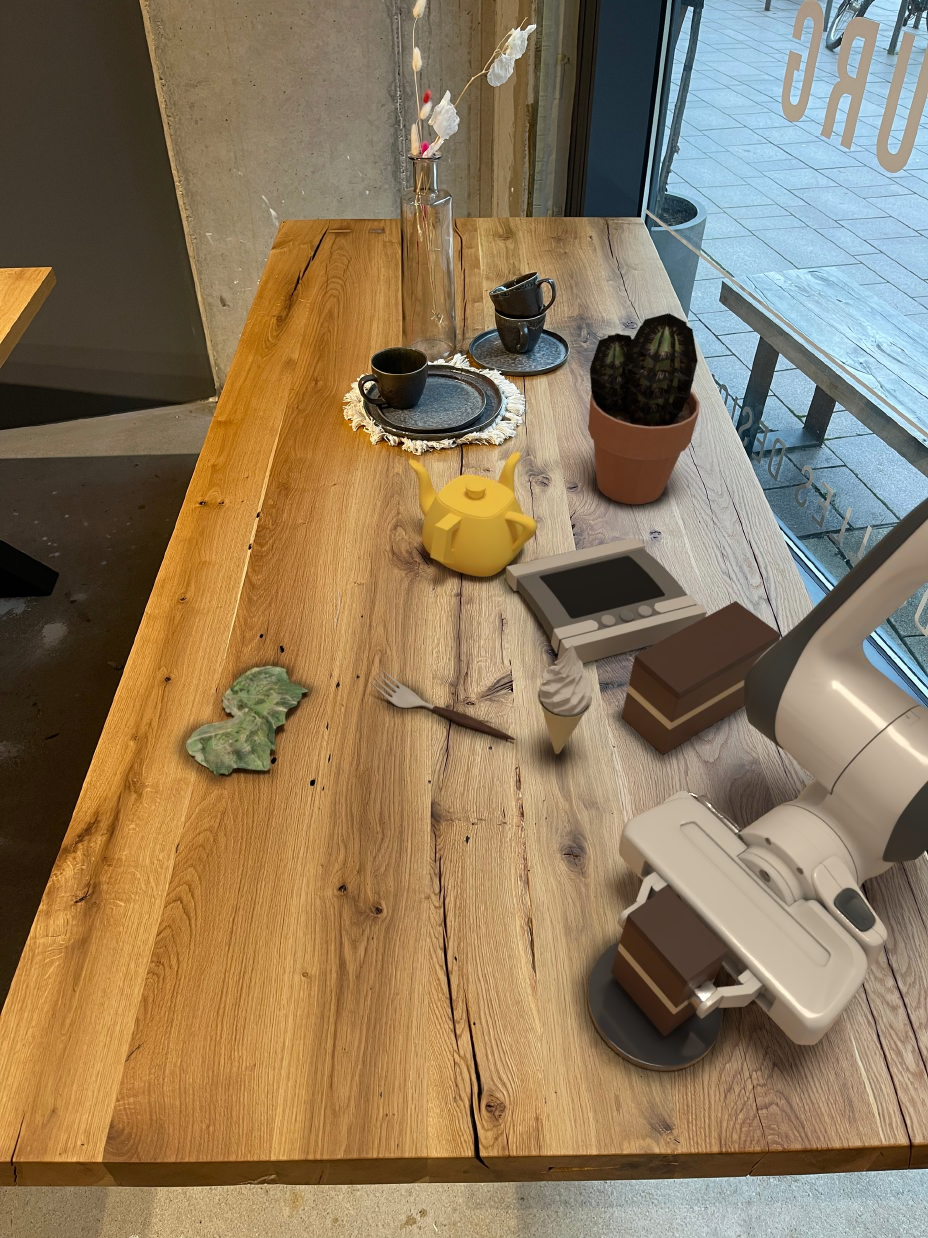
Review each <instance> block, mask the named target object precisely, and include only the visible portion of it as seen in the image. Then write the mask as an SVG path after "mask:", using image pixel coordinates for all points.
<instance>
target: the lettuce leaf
mask: <svg viewBox="0 0 928 1238" xmlns="http://www.w3.org/2000/svg"><path fill="white" fill-rule="evenodd" d="M289 677H290V676H288V675H287V669H286V668H282V667H280V666H272V665H265V666H260V667H252V668H251V669H249V670H247V672H246V673H244V672H243V673H242V674H241V675H240V677H238V678H237V679H236V680H235V681H234V683H232V685H231V686H230V687H229V688H228V689H227V690H226V691H225V693H224V694H223V696H222V697H221V699H222V700H223V701H222V707H223V708H224V709H225V712H226V713H227V714H228V713H231V715H232V716H233V717H232V718H230V719H228V720H221V721H217V722H212V723H207V724H204V725H202V726H200V727H199V728H197V729H196V730H194V731H193V732H192V734H191V735H190V737H189V738H188V739H187V741H186V744H185V748H186V751H187V752H188V754H189V755H191V757H194V759H195V761H197V762H198V763H199V764H201V765H202V766H205V767H206V768H208V769H209V771H210V772H213V774H214V775H215V777H219V775H220V774H225V775H226V776H227V775H230V773H232V771H233V769H238V768H239V769H246V770H255V771H268V770H270V769H271V768H272V767H271V754H270V753H271V750H273V751H276V750H277V748H278V746H277V744H276V735H275V733H276V732H275V731H276V729H277V727H279V726H281V725H285V724H286V723H287V721H286V714H287V712H288V710H289V709H291V708H293V707H296V706H297V705H298V702H299V701H301V700H302V695H303V693H307V692H308V693H309V690H308V689H307V688H306V687H302V686H301V685H300V684H296V683H293V682H292V681H290V679H289Z"/></svg>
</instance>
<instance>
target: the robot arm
mask: <svg viewBox="0 0 928 1238" xmlns="http://www.w3.org/2000/svg"><path fill="white" fill-rule="evenodd" d="M926 584H928V496H927V497H926V498H925V499H923V500H922V501H921V502H920V503H918V504H917V505H916V506H915V507H914V508H912V509H911V510H910V511H909V512H908V513H906V515H905V516H904V517H902V518H901V519H900V520H899V521H898V522H897V523H896V524H895V525H894V526H893V527H892V528H891V529H890V530H889V531H888V532H887V533H886V534H885V535H884V536H882V538H881V539H879V541H878V542H877V543H876V544H875V545H874V546H873V547H872V548H870V550H869V551H868V552H867V553H866V554H865V555H864V556H862V558H861V559H859V561H858V562H857V563H856V564H855V565H854V566H853V567H852V568H851V569H850V570H849V571H848V572H847V573H846V574H845V575H844V577H843V578H841V580H839V582H837V584H836V585H835V586H834V587H833V588H831V590H830V591H829V592H828V593H827V594H826V595H825V596H824V597H823V598H822V599H821V600H820V601H819V602H818V603H817V604H816V605H815V606H814V607H813V608H812V610H811V611H810V612H808V613H807V614H806V615H805V616H804V618H802V619H801V620H800V621H799V622H798V623H797V624H796V625H795V626H794V627H792V629H790V630H789V631H788V632H787V633H786V634H785V635H783V636H782V637H780V640H779V641H778V642H776V643H775V644H774V645H772V646H771V647H770V648H769V649H768V650H767V651H765V652H764V653H763V654H762V655H761V656H760V658H759V659H758V660H757V661H756V662H755V663H754V665H753V666H752V668H751V669H750V670H749V672H748V673H747V675H746V677H745V680H744V701H745V705H744V707H745V709H744V710H745V714H746V719H747V722H748V724H749V725H750V726H752V727H753V728H754V729H756V730H757V731H758V732H759V733H761V734H762V736H764V737H765V738H767V739H768V740H769V741H771V742H772V743H773V744H775V745H776V746H777V747H778V748H780V749H781V750H784V751H785V752H786V753H787V754H788V755H790V757H791V758H793V759H794V760H795V761H796V762H797V763H798V764H799V765H800V766H801V767H802V768H803V769H804V770H805V771H807V772H808V773H809V774H810V775H811V776H812V777H813V779H814V780H812V781H811V782H810V783H809V784H807V785H805V787H804V788H803V789H802V791H801V792H800V794H799V796H798V797H797V798H795V799H794V800H790V801H786V802H783V803H781V804H778V805H776V806H775V807H774V808H772V809H771V810H769V811H768V812H767V813H765V814H764V815H762V816H761V817H759V818H758V819H756V820H755V821H754V822H752V823H751V824H749V825H748V826H746V827H745V828H743V829H742V828H741V826H739V825H738V824H737V823H736V822H735V821H734V820H732V818H730V817H729V816H728V815H726V814H725V813H724V812H723V811H721V810H720V809H719V808H718V807H717V806H716V804H715V802H713V801H712V800H711V799H710V798H709V797H708V796H706V795H704V794H702V795H699V794H697V793H694V792H691V791H688V790H680V791H677V792H675V793H673V794H672V795H671V796H669V797H667V798H666V799H664V801H663V802H661V803H660V804H658V805H656V806H653V807H650V808H648V809H646V810H645V811H642V812H641V813H638V814H637V815H635V816H633V817H632V818H630V819H629V820H627V821H626V822H625V824H624V825H623V827H622V830H621V833H620V837H619V846H618V853H619V856H620V857H621V859H622V860H623V861H624V862H625V863H626V864H627V865H628V866H629V868H631V869H632V870H633V872H634V873H635V874H636V875H637V876H638V877H639V878H640V879H641V880H642V884H641V885H640V889H639V890H638V891H639V892H638V895H637V897H636V899H635V902H634V903H633V904H631V905H630V906H629V907H627V908H625V910H623V911H622V912H621V913H620V914H619V916H618V920H617V925H618V926H619V927H620V928H621V929H622V930H623V929H624V925H625V922H626V919H627V915H628V914H629V913H630V912H632V911H633V910H635V909H636V908H638V907H639V906H640V905H642V904H643V903H645V902H646V901H648V900H649V899H651V898H652V897H653V896H655V895H656V894H658V893H659V892H661V891H662V890H663V889H665V888H666V887H669V888H670V889H671V890H672V892H673V893H674V894H675V895H676V896H677V897H678V898H679V899H680V900H681V901H682V902H683V903H684V904H685V905H686V906H687V907H688V908H689V910H690V911H691V912H692V913H693V914H694V915H695V916H696V917H697V918H698V919H699V920H700V921H701V922H702V923H703V924H704V925H705V926H706V927H707V929H708V930H709V931H710V932H711V933H712V934H713V935H714V936H715V937H716V938H717V939H718V940H719V941H720V942H721V943H722V944H723V945H724V947H725V948H726V949H727V950H728V952H727V954H726V956H725V958H724V960H723V963H722V965H721V967H723V968H724V970H725V971H727V973H728V974H729V975H730V976H731V977H732V978H733V979H734V980H735V982H734V984H733V985H731V986H730V985H729V986H720V987H719V986H718V988H715V986H714V985H713V984H712V983H711V982H710V981H709V980H707V981H706V982H704V983H703V984H702V985H701V986H700V988H697V989H695V990H694V991H693V992H692V993H691V994H690V996H689V999H688V1000H687V1003H688V1004H689V1005H690V1006H691V1007H692V1009H693V1010H694V1011H695V1012H696V1014H697V1015H698V1016H699V1017H700V1018H704V1017H705V1016H706V1015H707V1014H709V1013H710V1012H711V1011H712V1010H714V1009H715V1008H716V1007H717V1006H718V1007H719V1008H723V1009H725V1008H742V1007H743V1008H744V1007H747V1005H749V1004H750V1003H751V1002H752V1001H755V1003H756V1004H757V1005H758V1006H759V1007H760V1008H761V1009H762V1010H763V1011H764V1012H765V1013H766V1014H767V1015H768V1016H769V1018H770V1019H771V1020H772V1021H773V1022H774V1023H775V1024H776V1025H777V1026H778V1027H779V1028H780V1030H782V1032H783V1033H784V1034H785V1035H786V1036H787V1037H788V1038H789V1039H790V1040H791V1041H792V1042H793V1043H794V1044H796V1045H800V1046H814V1045H816V1044H817V1043H818V1042H819V1041H820V1040H821V1039H822V1038H823V1037H824V1036H825V1035H827V1033H828V1032H829V1031H830V1030H831V1028H832V1027H833V1026H834V1025H835V1023H837V1021H838V1020H839V1018H840V1017H841V1016H842V1014H843V1013H844V1012H845V1010H846V1009H847V1007H848V1006H849V1005H850V1004H851V1002H852V1000H853V999H854V998H855V996H856V994H857V993H858V991H859V990H860V988H861V987H862V985H863V984H864V981H865V980H866V977H867V975H868V971H869V970H870V969H871V968H872V966H873V965H874V964H875V962H876V961H877V960H878V958H879V957H880V954H881V953H882V951H883V948H884V947H885V944H886V941H887V939H888V931H887V929H886V926H885V925H884V923H883V922H882V920H881V919H880V917H879V916H878V914H877V913H876V912H875V910H874V909H873V907H872V906H871V904H870V902H869V901H868V900H867V898H866V896H865V895H864V893H863V892H862V891H861V887H862V885H863V883H864V882H865V881H866V880H868V879H872V878H875V877H878V876H879V875H882V874H884V873H886V871H887V870H889V869H890V868H891V867H892V866H894V865H895V864H896V863H903V862H909V861H916V860H917V859H919V857H921V856H922V855H923V854H924V853H926V852H927V851H928V707H927V706H926V705H924V704H921V703H920V702H919V701H917V700H916V699H915V698H914V697H913V696H912V695H910V694H909V693H908V692H907V691H905V690H904V689H903V688H901V687H900V686H899V685H898V684H897V683H896V682H894V681H893V680H892V679H890V678H889V677H888V676H887V675H886V674H885V673H883V672H882V671H881V670H880V669H878V668H877V667H876V666H875V665H873V663H872V662H871V661H870V659H869V658H868V657H867V655H866V653H865V650H864V641H865V640H866V639H867V638H868V637H869V636H871V634H873V633H874V632H875V631H876V630H877V629H878V628H879V627H880V626H881V625H882V624H884V622H886V621H887V620H888V619H889V617H891V616H892V615H893V614H894V613H895V612H896V611H898V609H899V608H900V607H902V606H904V604H905V603H906V602H907V601H908V600H910V598H911V597H912V596H914V595H915V594H916V593H917V592H918V591H919V590H920V589H921V588H923V586H925V585H926Z"/></svg>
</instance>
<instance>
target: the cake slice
mask: <svg viewBox="0 0 928 1238" xmlns="http://www.w3.org/2000/svg"><path fill="white" fill-rule="evenodd" d="M619 941H620V943H619V946H618V950H617V953H616V957H615V960H614V963H613V967H612V970H611V973H612V975H613V976H614V977H615V978H616V979H617V981H618V982H619V983H620V984H621V985H622V987H623V988H624V989H625V990H626V991H627V993H628V994H629V995H630V996H631V997H632V999H633V1000H634V1001H635V1002H636V1003H637V1005H638V1006H639V1007H640V1008H641V1009H642V1011H643V1012H644V1013H645V1014H646V1015H647V1017H648V1018H649V1019H650V1020H651V1021H652V1023H653V1024H654V1025H655V1026H656V1027H657V1029H658V1030H659V1031H660V1032H661V1033H662V1035H663V1036H666V1035H667V1034H669V1033H670V1032H671V1031H672V1030H674V1029H675V1028H676V1027H677V1026H679V1025H680V1024H681V1023H682V1022H684V1021H685V1020H686V1019H688V1018H689V1017H690V1016H691V1015H693V1014H694V1013H695V1011H694V1010H693V1009H692V1007H691V1006H690V1005H689V1004H688V1003H687V1000H688V999H689V996H690V994H691V993H692V992H693V991H694V990H695V989H697V988H700V986H701V985H702V984H703V983H704V982H706V981H707V980H709V981H710V982H711V983H712V984H713V982H714V980H715V981H716V977H717V976H718V973H719V971H720V969H721V967H722V963H723V960H724V958H725V956H726V954H727V952H728V950H727V949H726V948H725V947H724V945H723V944H722V943H721V942H720V941H719V940H718V939H717V938H716V937H715V936H714V935H713V934H712V933H711V932H710V931H709V930H708V929H707V927H706V926H705V925H704V924H703V923H702V922H701V921H700V920H699V919H698V918H697V917H696V916H695V915H694V914H693V913H692V912H691V911H690V910H689V908H688V907H687V906H686V905H685V904H684V903H683V902H682V901H681V900H680V899H679V898H678V897H677V896H676V895H675V894H674V893H673V892H672V890H671V889H670V888H669V887H666V888H665V889H663V890H662V891H661V892H659V893H658V894H656V895H655V896H653V897H652V898H651V899H649V900H647V901H646V902H645V903H643V904H642V905H640V906H639V907H638V908H636V909H635V910H633V911H632V912H630V913H629V914H628V915H627V919H626V922H625V925H624V929H622V933H621V936H620V940H619Z"/></svg>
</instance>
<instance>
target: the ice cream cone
mask: <svg viewBox="0 0 928 1238" xmlns="http://www.w3.org/2000/svg"><path fill="white" fill-rule="evenodd" d="M554 664H555V665H551V666H549V667H548V669H549V670H550V673H546V672H544V673H542V675H541V677H542V680H543V681H544V682H541V683H540V684H539V686H538V691H537V700H538V703H539V705H540V706H541V710H542V713H543V717H544V721H545V725H546V727H547V730H548V735H549V738H550V741H551V744H552V748H553V751H554V754H555V755H560V752H561V751H562V750H563V748H564V746H565V745H566V744H567V742H568V740H569V739H570V737H571V736H572V734H573V733H574V731H575V730H576V728H577V726H578V724H580V721H581V720H582V719H583V716H584V715H585V714H586V713H587V712H588V711H589V709H590V708H591V707H592V703H593V679H592V678H591V677H590V675H589V673H588V672H587V671H586V669H584V663H582V662H581V661H580V660H579V659H578V657H577V654H576V652H575V650H574V647H573V645H571V647H570V648H569V649H568V650H567V651H566V653H565V654H564V655H563V656H562V658H561V659H560V660H558V661H557V660H556V661H554Z"/></svg>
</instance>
